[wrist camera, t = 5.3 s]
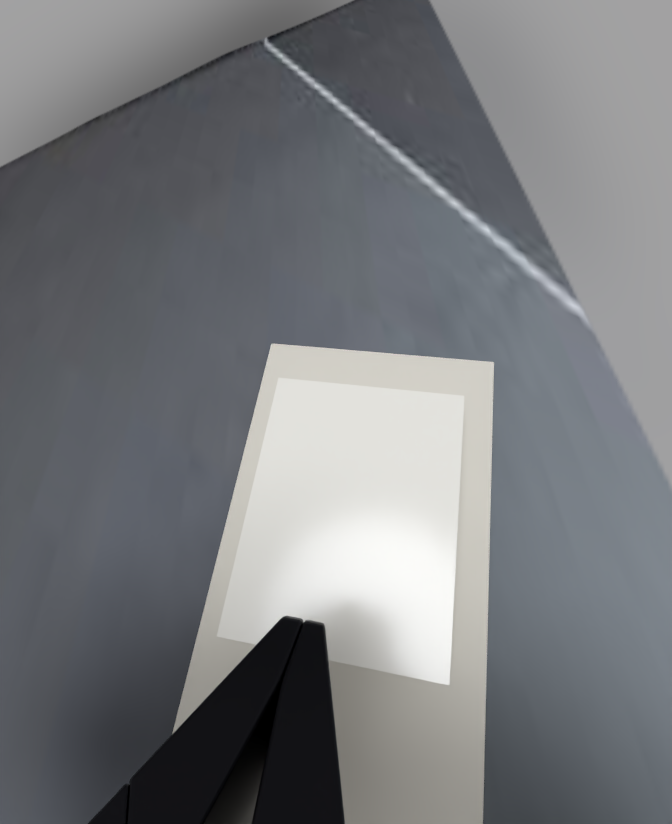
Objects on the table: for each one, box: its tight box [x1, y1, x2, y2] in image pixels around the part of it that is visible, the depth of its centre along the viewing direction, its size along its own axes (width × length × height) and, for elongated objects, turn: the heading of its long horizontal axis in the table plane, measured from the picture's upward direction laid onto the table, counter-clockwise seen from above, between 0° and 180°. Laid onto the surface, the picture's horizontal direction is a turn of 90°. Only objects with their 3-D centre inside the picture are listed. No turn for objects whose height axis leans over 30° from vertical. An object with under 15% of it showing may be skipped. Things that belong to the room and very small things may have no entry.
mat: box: [172, 344, 494, 824], centre depth 15 cm, size 20×10×1 cm, turn 171°
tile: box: [217, 378, 464, 685], centre depth 15 cm, size 2×7×9 cm
